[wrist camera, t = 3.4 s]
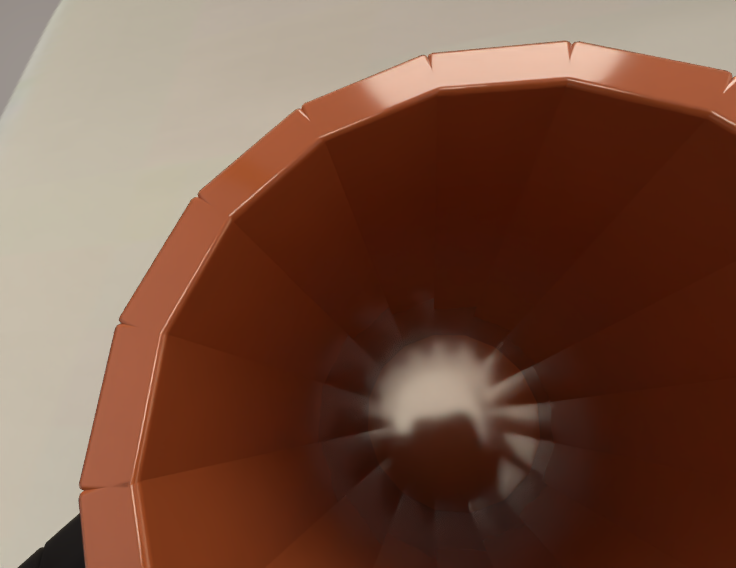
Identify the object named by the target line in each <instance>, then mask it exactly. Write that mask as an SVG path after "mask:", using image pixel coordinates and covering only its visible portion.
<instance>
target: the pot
mask: <svg viewBox="0 0 736 568" xmlns="http://www.w3.org/2000/svg"><path fill="white" fill-rule="evenodd" d="M198 197H199V198H198ZM198 197H194V198H193V199H192V200H191V201H190V203H189V204H188V206H187V208H186V209H185V211H184V213H183V214H182V216H181V217H180V219H179V221H178V222H177V224H176V226H175V227H174V229H173V231H172V232H171V234H170V235H169V237H168V239H167V240H166V242H165V244H164V245H163V247H162V249H161V250H160V252H159V253H158V255H157V257H156V258H155V260H154V262H153V263H152V265H151V267H150V268H149V270H148V271H147V273H146V275H145V276H144V278H143V280H142V281H141V283H140V285H139V286H138V288H137V289H136V291H135V293H134V294H133V296H132V298H131V299H130V301H129V303H128V304H127V306H126V307H125V309H124V311H123V312H122V314H121V316H120V318H119V321H120V322H121V324H119V325H117V326H116V328H115V331H114V335H113V340H112V344H111V348H110V353H109V357H108V361H107V366H106V370H105V374H104V379H103V383H102V387H101V392H100V396H99V400H98V405H97V409H96V413H95V418H94V422H93V426H92V431H91V435H90V439H89V444H88V448H87V452H86V457H85V461H84V465H83V469H82V474H81V478H80V482H79V486H80V489H82V490H84V491H83V492H82V493H81V494H80V496H79V509H80V520H81V530H82V541H83V551H84V561H85V568H736V76H735V77H733V78H732V73H730V72H728V71H726V70H720V69H715V68H710V67H705V66H700V65H695V64H690V63H685V62H680V61H675V60H670V59H665V58H660V57H655V56H650V55H645V54H640V53H635V52H630V51H625V50H620V49H615V48H610V47H605V46H600V45H595V44H590V43H585V42H580V41H579V42H574V43H573V44H572V45H571V43H570V42H568V41H557V42H546V43H536V44H525V45H514V46H503V47H492V48H481V49H470V50H460V51H449V52H438V53H432V54H429V56H428V58H427V56H425V55H421V56H418V57H416V58H413V59H411V60H408V61H406V62H404V63H401V64H399V65H396V66H394V67H392V68H389V69H387V70H384V71H382V72H379V73H377V74H375V75H372V76H370V77H367V78H365V79H362V80H360V81H358V82H355V83H353V84H350V85H348V86H346V87H343V88H341V89H338V90H336V91H333V92H331V93H329V94H326V95H324V96H321V97H319V98H316V99H314V100H312V101H309V102H307V103H304V104H303V105H302V109H296V110H294V111H293V112H292V113H291V114H290V115H288V116H287V117H286V118H285V119H284V120H282V121H281V122H280V123H279V124H278V125H277V126H275V127H274V128H273V129H272V130H271V131H270V132H268V133H267V134H266V135H265V136H264V137H262V138H261V139H260V140H259V141H258V142H257V143H255V144H254V145H253V146H252V147H251V148H249V149H248V150H247V151H246V152H245V153H244V154H242V155H241V156H240V157H239V158H238V159H237V160H235V161H234V162H233V163H232V164H231V165H229V166H228V167H227V168H226V169H225V170H224V171H222V172H221V173H220V174H219V175H218V176H216V177H215V178H214V179H213V180H212V181H211V182H209V183H208V184H207V185H206V186H205V187H203V188H202V189H201V190H200V191H199V193H198Z"/></svg>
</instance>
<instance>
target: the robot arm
mask: <svg viewBox="0 0 736 568" xmlns="http://www.w3.org/2000/svg"><path fill="white" fill-rule="evenodd" d="M18 568H85V561H84V551H83V541H82V530H81V520H80V513H79V514H78V515H77V516H76V517H75V518H74V519H72V520H71V521H70V522H69V523H68V524H67V525H66V526H65V527H63V528H62V529H61V530H60V531H59V532H58V533H57V534H55V535H54V536H53V537H52V538H51V539H50V540H49V541H48V542H46V544H45V547H42V548H39V549H38V550H37V551H36V552H35V553H34V554H33V555H31V556H30V557H29V558H28V559H27V560H26V561H25V562H24V563H22V564H21V565H20V566H19V567H18Z"/></svg>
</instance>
